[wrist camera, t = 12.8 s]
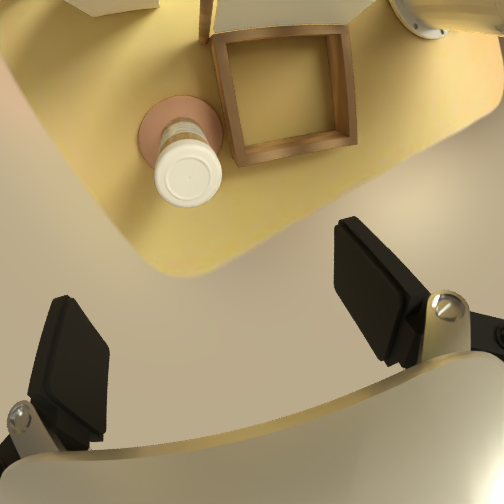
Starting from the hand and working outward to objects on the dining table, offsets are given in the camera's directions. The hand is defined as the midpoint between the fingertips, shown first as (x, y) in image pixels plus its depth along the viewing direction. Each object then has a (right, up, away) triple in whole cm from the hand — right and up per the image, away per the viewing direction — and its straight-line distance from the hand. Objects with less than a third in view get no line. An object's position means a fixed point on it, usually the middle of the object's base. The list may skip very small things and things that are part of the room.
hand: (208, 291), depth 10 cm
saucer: (-6, +14, +20) cm, 25 cm away
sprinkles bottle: (-6, +14, +20) cm, 25 cm away
